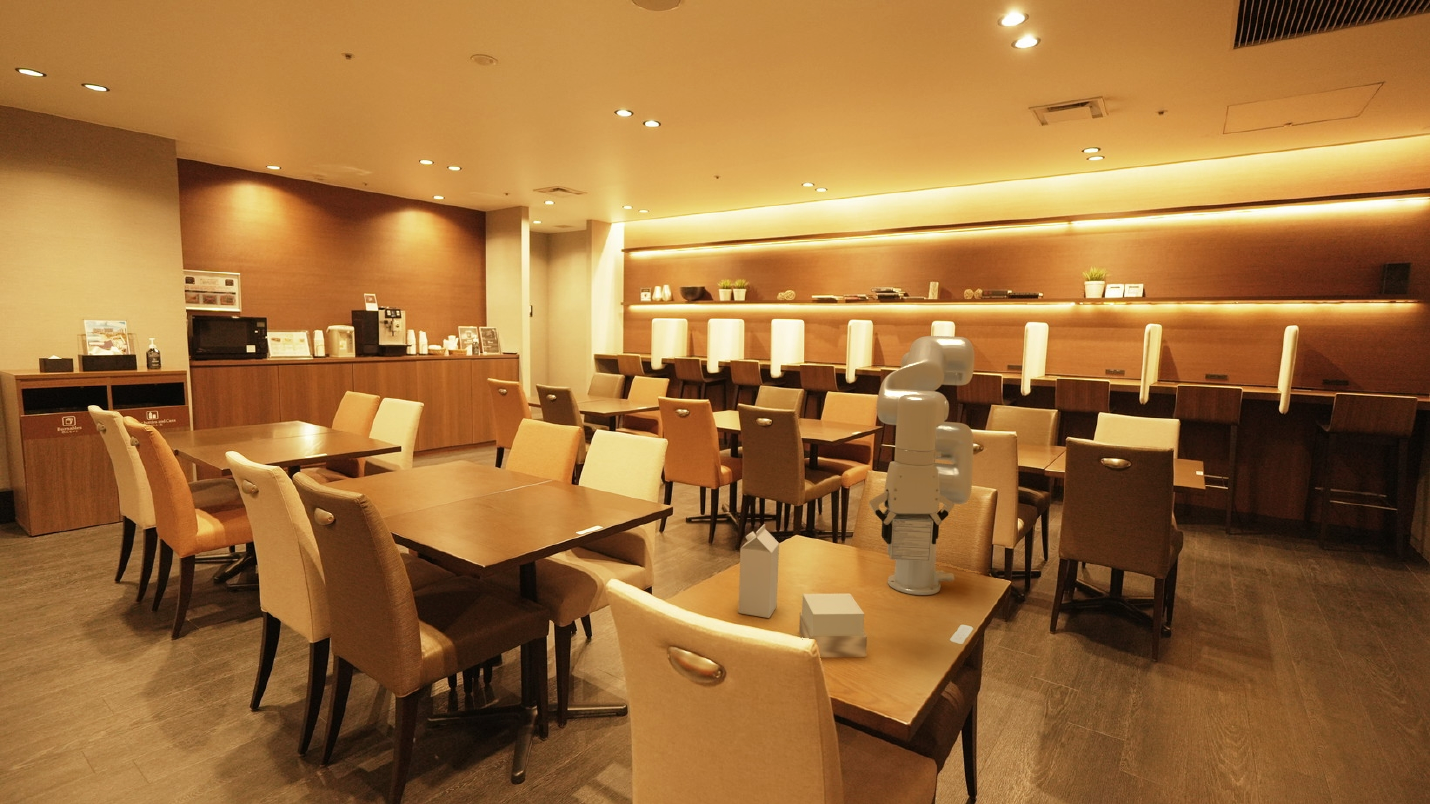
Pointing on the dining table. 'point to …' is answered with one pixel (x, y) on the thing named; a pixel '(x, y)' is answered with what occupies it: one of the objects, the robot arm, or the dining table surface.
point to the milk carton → (758, 574)
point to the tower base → (836, 643)
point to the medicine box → (911, 537)
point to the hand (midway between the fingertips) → (909, 541)
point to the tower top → (832, 615)
